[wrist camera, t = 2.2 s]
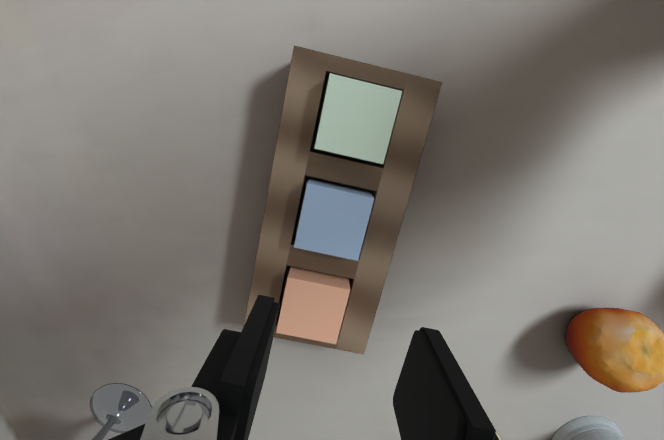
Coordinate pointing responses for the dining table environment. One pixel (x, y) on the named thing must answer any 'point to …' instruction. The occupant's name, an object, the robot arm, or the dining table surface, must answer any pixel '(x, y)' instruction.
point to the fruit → (618, 348)
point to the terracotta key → (313, 305)
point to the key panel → (308, 163)
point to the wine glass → (119, 408)
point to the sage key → (357, 118)
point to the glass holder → (589, 429)
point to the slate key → (333, 219)
